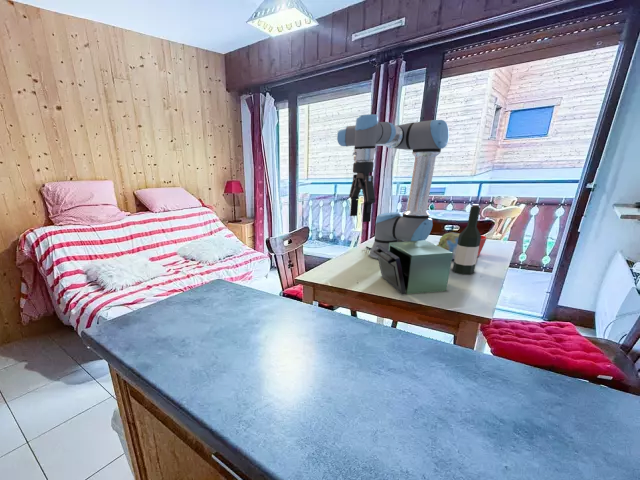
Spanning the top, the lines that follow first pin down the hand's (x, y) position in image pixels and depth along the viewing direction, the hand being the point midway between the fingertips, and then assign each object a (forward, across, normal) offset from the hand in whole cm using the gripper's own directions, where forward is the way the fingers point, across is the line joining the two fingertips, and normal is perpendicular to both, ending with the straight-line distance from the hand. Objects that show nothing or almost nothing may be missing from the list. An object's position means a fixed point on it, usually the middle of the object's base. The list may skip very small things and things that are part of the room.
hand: (359, 218), depth 129 cm
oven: (+29, +2, +25) cm, 38 cm away
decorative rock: (+28, -27, +59) cm, 71 cm away
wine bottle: (+29, -7, +53) cm, 61 cm away
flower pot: (+28, -30, +73) cm, 84 cm away
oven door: (+29, +2, +15) cm, 33 cm away
